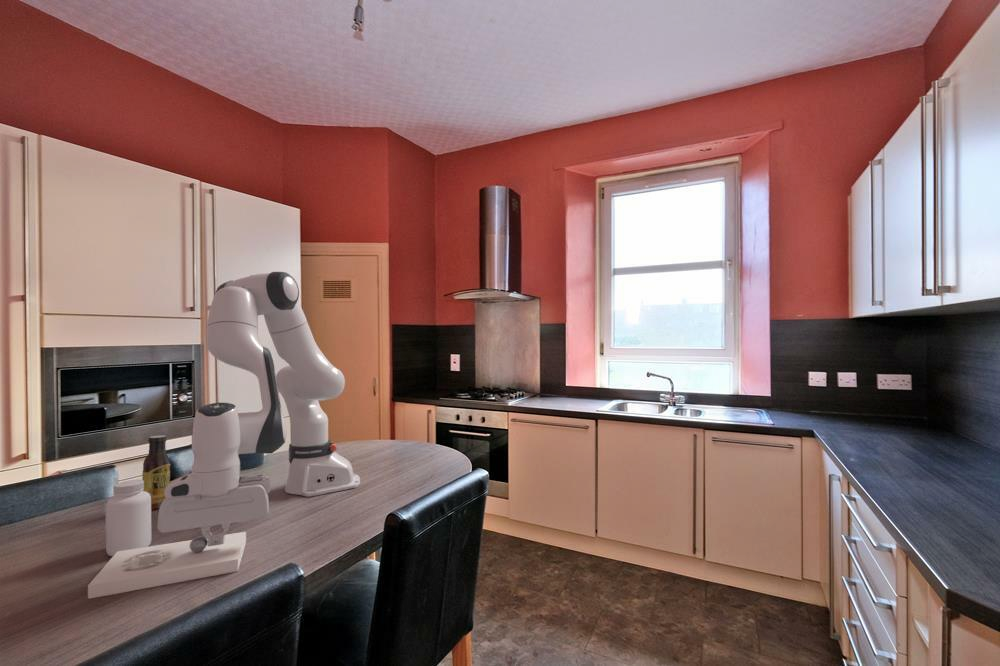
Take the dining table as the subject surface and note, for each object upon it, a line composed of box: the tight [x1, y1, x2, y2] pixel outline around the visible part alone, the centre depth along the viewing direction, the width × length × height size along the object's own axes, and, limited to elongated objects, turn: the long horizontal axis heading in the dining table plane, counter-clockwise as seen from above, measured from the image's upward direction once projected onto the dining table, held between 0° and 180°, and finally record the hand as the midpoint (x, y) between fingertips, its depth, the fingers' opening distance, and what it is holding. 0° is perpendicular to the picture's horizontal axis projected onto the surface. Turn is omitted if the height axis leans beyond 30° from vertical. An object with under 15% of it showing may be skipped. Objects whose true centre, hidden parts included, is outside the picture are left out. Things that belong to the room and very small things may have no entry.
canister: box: [238, 453, 265, 471], centre depth 167 cm, size 13×13×18 cm
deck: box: [87, 531, 247, 600], centre depth 94 cm, size 24×14×2 cm, turn 114°
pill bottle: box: [105, 479, 152, 557], centre depth 102 cm, size 8×8×15 cm
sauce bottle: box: [141, 434, 171, 511], centre depth 127 cm, size 7×6×20 cm
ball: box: [190, 535, 208, 553], centre depth 95 cm, size 3×3×3 cm
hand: (216, 544), depth 96 cm, fingers closed
